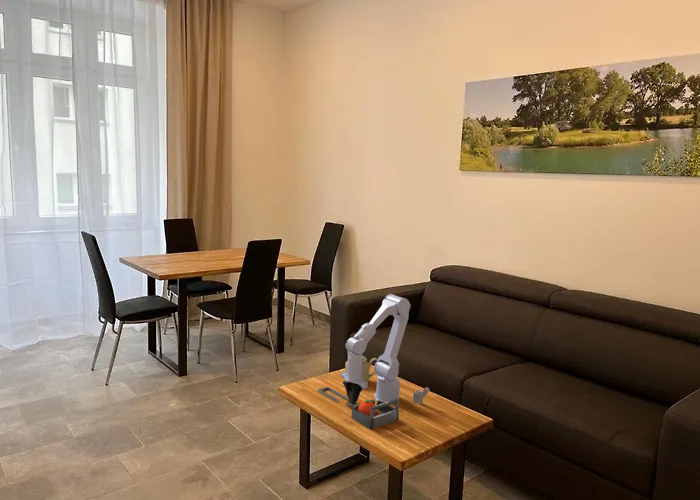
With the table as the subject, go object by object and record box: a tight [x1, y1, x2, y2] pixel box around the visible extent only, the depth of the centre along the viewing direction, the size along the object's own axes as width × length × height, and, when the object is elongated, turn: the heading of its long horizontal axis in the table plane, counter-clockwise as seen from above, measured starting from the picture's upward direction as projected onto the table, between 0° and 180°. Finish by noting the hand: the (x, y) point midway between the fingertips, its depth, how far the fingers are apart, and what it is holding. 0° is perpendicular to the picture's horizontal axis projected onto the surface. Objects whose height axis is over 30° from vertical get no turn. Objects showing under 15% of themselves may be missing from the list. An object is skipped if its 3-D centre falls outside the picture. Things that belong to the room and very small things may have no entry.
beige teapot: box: [344, 355, 378, 384], centre depth 247 cm, size 15×11×15 cm
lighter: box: [412, 386, 430, 405], centre depth 226 cm, size 7×2×8 cm, turn 42°
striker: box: [345, 390, 376, 409], centre depth 217 cm, size 10×10×6 cm
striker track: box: [317, 386, 348, 403], centre depth 230 cm, size 13×5×1 cm, turn 40°
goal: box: [350, 398, 401, 430], centre depth 209 cm, size 11×15×8 cm
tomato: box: [358, 399, 377, 416], centre depth 210 cm, size 8×7×7 cm
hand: (352, 399), depth 220 cm, fingers open, 2 cm apart
